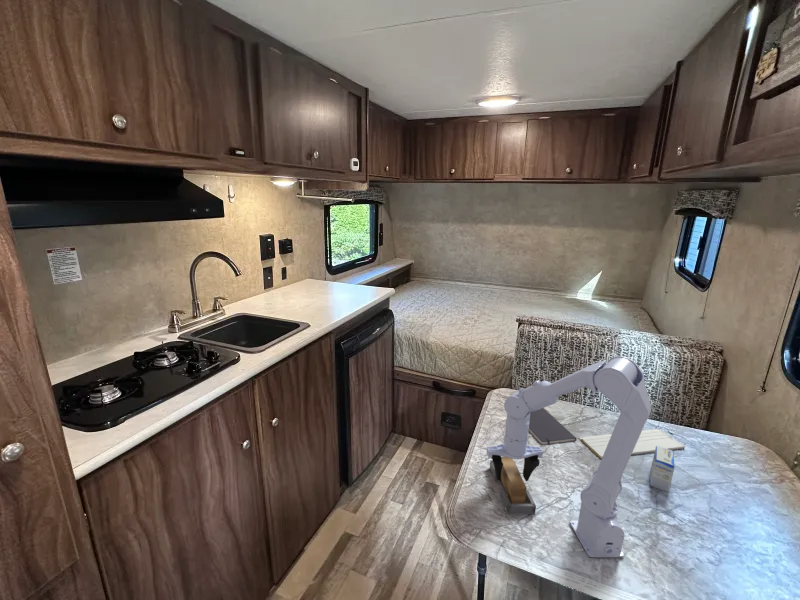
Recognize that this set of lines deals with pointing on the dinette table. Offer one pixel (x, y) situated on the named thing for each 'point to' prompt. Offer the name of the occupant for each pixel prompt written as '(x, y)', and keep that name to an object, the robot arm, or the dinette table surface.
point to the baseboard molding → (643, 445)
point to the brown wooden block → (513, 481)
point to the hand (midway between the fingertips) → (511, 478)
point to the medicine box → (662, 468)
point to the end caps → (515, 508)
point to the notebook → (548, 428)
